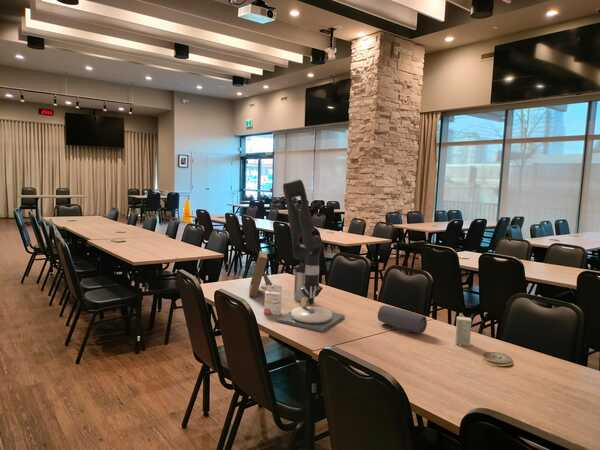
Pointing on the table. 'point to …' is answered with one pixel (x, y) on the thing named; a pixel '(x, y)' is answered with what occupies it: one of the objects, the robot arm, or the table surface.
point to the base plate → (312, 326)
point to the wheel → (310, 313)
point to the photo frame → (259, 274)
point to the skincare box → (463, 331)
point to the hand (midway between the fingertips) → (310, 304)
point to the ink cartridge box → (272, 300)
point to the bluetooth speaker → (402, 319)
